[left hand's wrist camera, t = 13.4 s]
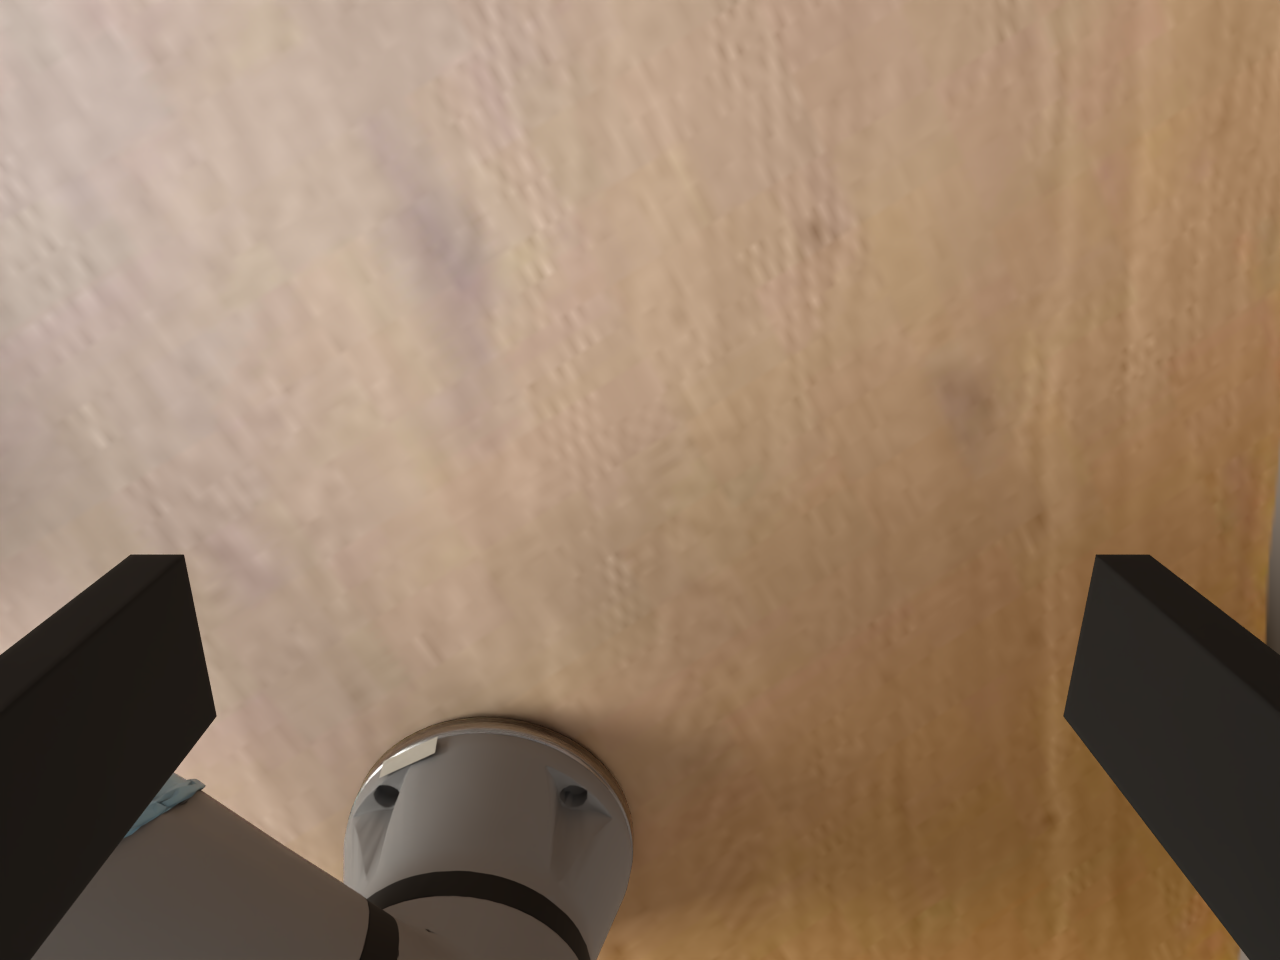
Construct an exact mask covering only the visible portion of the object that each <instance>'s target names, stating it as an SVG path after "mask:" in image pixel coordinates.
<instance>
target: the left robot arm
mask: <svg viewBox="0 0 1280 960" xmlns="http://www.w3.org/2000/svg"><path fill="white" fill-rule="evenodd" d="M215 718H216V711H215V706H214V701H213V696H212V691H211V686H210V681H209V676H208V671H207V666H206V661H205V657H204V652H203V647H202V642H201V637H200V632H199V627H198V622H197V617H196V612H195V607H194V602H193V597H192V592H191V587H190V582H189V577H188V572H187V567H186V563H185V558H184V555H130V556H128V557H127V558H126V559H124V560H123V561H122V562H121V563H119V564H118V565H117V566H115V567H114V568H113V569H111V570H110V571H109V572H108V573H106V574H105V575H104V576H102V577H101V578H100V579H99V580H97V581H96V582H95V583H93V584H92V585H91V586H89V587H88V588H87V589H86V590H84V591H83V592H82V593H80V594H79V595H78V596H76V597H75V598H74V599H73V600H71V601H70V602H69V603H67V604H66V605H65V606H63V607H62V608H61V609H60V610H58V611H57V612H56V613H54V614H53V615H52V616H51V617H49V618H48V619H47V620H45V621H44V622H43V623H41V624H40V625H39V626H38V627H36V628H35V629H34V630H32V631H31V632H30V633H28V634H27V635H26V636H25V637H23V638H22V639H21V640H19V641H18V642H17V643H15V644H14V645H13V646H12V647H10V648H9V649H8V650H6V651H5V652H4V653H3V654H1V655H0V960H596V959H597V957H598V955H599V953H600V950H601V948H602V946H603V944H604V941H605V939H606V937H607V934H608V932H609V930H610V928H611V925H612V923H613V921H614V918H615V916H616V914H617V912H618V909H619V907H620V905H621V903H622V900H623V898H624V895H625V892H626V889H627V885H628V881H629V877H630V872H631V866H632V858H633V825H632V819H631V813H630V810H629V807H628V804H627V801H626V799H625V796H624V794H623V792H622V790H621V788H620V787H619V785H618V783H617V781H616V780H615V779H614V777H613V776H612V775H611V773H610V772H609V771H608V770H607V768H606V767H605V766H604V765H603V764H602V763H601V762H600V761H599V760H598V759H597V758H596V757H595V756H593V755H592V754H591V753H590V752H589V751H587V750H586V749H585V748H583V747H582V746H581V745H579V744H577V743H576V742H574V741H572V740H571V739H569V738H567V737H565V736H563V735H561V734H559V733H557V732H555V731H553V730H550V729H548V728H545V727H542V726H539V725H536V724H532V723H529V722H524V721H520V720H515V719H507V718H498V717H473V718H464V719H456V720H452V721H447V722H442V723H439V724H436V725H433V726H430V727H427V728H425V729H422V730H420V731H418V732H416V733H414V734H412V735H410V736H408V737H406V738H405V739H403V740H402V741H400V742H399V743H397V744H396V745H394V746H393V747H392V748H391V749H389V750H388V751H387V752H386V753H385V754H384V755H383V756H382V757H381V758H380V759H379V760H378V761H377V762H376V763H375V765H374V766H373V767H372V769H371V770H370V771H369V773H368V775H367V776H366V778H365V780H364V782H363V784H362V786H361V788H360V791H359V793H358V795H357V797H356V800H355V802H354V804H353V806H352V809H351V813H350V816H349V821H348V825H347V829H346V834H345V840H344V883H342V882H340V881H339V880H337V879H336V878H334V877H333V876H331V875H329V874H328V873H326V872H325V871H323V870H322V869H320V868H318V867H317V866H315V865H314V864H312V863H311V862H309V861H307V860H306V859H304V858H303V857H301V856H300V855H298V854H296V853H295V852H293V851H292V850H290V849H289V848H287V847H285V846H284V845H282V844H281V843H279V842H278V841H276V840H275V839H273V838H272V837H270V836H269V835H267V834H266V833H264V832H263V831H261V830H260V829H258V828H257V827H255V826H254V825H252V824H251V823H249V822H248V821H246V820H245V819H243V818H242V817H240V816H239V815H237V814H236V813H234V812H233V811H231V810H230V809H228V808H227V807H225V806H224V805H222V804H221V803H219V802H218V801H216V800H215V799H213V798H212V797H210V796H209V795H207V794H206V793H204V792H203V791H201V790H202V789H203V788H204V787H205V785H204V784H203V783H201V782H200V781H199V780H197V779H190V780H186V779H184V778H182V777H180V776H179V775H177V774H175V773H174V771H175V770H176V769H177V767H178V766H179V765H180V763H181V762H182V761H183V759H184V758H185V757H186V756H187V754H188V753H189V752H190V750H191V749H192V748H193V746H194V745H195V744H196V742H197V741H198V740H199V739H200V737H201V736H202V735H203V733H204V732H205V731H206V729H207V728H208V727H209V725H210V724H211V723H212V722H213V720H214V719H215ZM1064 718H1065V719H1066V720H1067V722H1068V723H1069V724H1070V725H1071V727H1072V728H1073V729H1074V731H1075V732H1076V733H1077V735H1078V736H1079V737H1080V739H1081V740H1082V741H1083V742H1084V744H1085V745H1086V746H1087V748H1088V749H1089V750H1090V752H1091V753H1092V754H1093V756H1094V757H1095V758H1096V759H1097V761H1098V762H1099V763H1100V765H1101V766H1102V767H1103V769H1104V770H1105V771H1106V773H1107V774H1108V775H1109V777H1110V778H1111V779H1112V780H1113V782H1114V783H1115V784H1116V786H1117V787H1118V788H1119V790H1120V791H1121V792H1122V794H1123V795H1124V796H1125V797H1126V799H1127V800H1128V801H1129V803H1130V804H1131V805H1132V807H1133V808H1134V809H1135V811H1136V812H1137V813H1138V814H1139V816H1140V817H1141V818H1142V820H1143V821H1144V822H1145V824H1146V825H1147V826H1148V828H1149V829H1150V830H1151V831H1152V833H1153V834H1154V835H1155V837H1156V838H1157V839H1158V841H1159V842H1160V843H1161V845H1162V846H1163V847H1164V848H1165V850H1166V851H1167V852H1168V854H1169V855H1170V856H1171V858H1172V859H1173V860H1174V862H1175V863H1176V864H1177V865H1178V867H1179V868H1180V869H1181V871H1182V872H1183V873H1184V875H1185V876H1186V877H1187V879H1188V880H1189V881H1190V883H1191V884H1192V885H1193V886H1194V888H1195V889H1196V890H1197V892H1198V893H1199V894H1200V896H1201V897H1202V898H1203V900H1204V901H1205V902H1206V903H1207V905H1208V906H1209V907H1210V909H1211V910H1212V911H1213V913H1214V914H1215V915H1216V917H1217V918H1218V919H1219V920H1220V922H1221V923H1222V924H1223V926H1224V927H1225V928H1226V930H1227V931H1228V932H1229V934H1230V935H1231V936H1232V937H1233V939H1234V940H1235V941H1236V943H1237V944H1238V945H1239V947H1240V948H1241V949H1242V951H1243V952H1244V953H1245V954H1246V956H1247V957H1248V958H1249V960H1280V655H1279V654H1277V653H1276V652H1275V651H1274V650H1272V649H1271V648H1270V647H1268V646H1267V645H1266V644H1265V643H1263V642H1262V641H1261V640H1259V639H1258V638H1257V637H1255V636H1254V635H1253V634H1252V633H1250V632H1249V631H1248V630H1246V629H1245V628H1244V627H1242V626H1241V625H1240V624H1239V623H1237V622H1236V621H1235V620H1233V619H1232V618H1231V617H1229V616H1228V615H1227V614H1226V613H1224V612H1223V611H1222V610H1220V609H1219V608H1218V607H1217V606H1215V605H1214V604H1213V603H1211V602H1210V601H1209V600H1207V599H1206V598H1205V597H1204V596H1202V595H1201V594H1200V593H1198V592H1197V591H1196V590H1194V589H1193V588H1192V587H1191V586H1189V585H1188V584H1187V583H1185V582H1184V581H1183V580H1181V579H1180V578H1179V577H1178V576H1176V575H1175V574H1174V573H1172V572H1171V571H1170V570H1169V569H1167V568H1166V567H1165V566H1163V565H1162V564H1161V563H1159V562H1158V561H1157V560H1156V559H1154V558H1153V557H1152V556H1150V555H1096V558H1095V563H1094V567H1093V572H1092V577H1091V582H1090V587H1089V592H1088V597H1087V602H1086V607H1085V612H1084V617H1083V622H1082V627H1081V632H1080V637H1079V642H1078V647H1077V652H1076V657H1075V661H1074V666H1073V671H1072V676H1071V681H1070V686H1069V691H1068V696H1067V701H1066V706H1065V711H1064Z"/></svg>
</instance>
